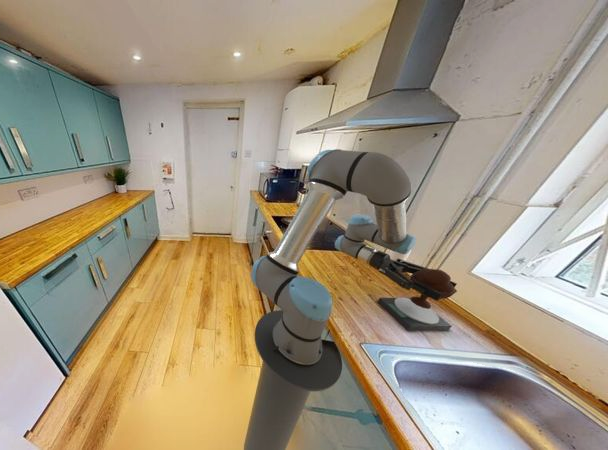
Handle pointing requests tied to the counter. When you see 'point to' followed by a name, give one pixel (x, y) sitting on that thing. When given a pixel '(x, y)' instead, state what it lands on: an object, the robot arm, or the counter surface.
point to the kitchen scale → (413, 315)
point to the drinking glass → (398, 255)
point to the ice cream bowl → (432, 285)
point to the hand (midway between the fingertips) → (447, 292)
